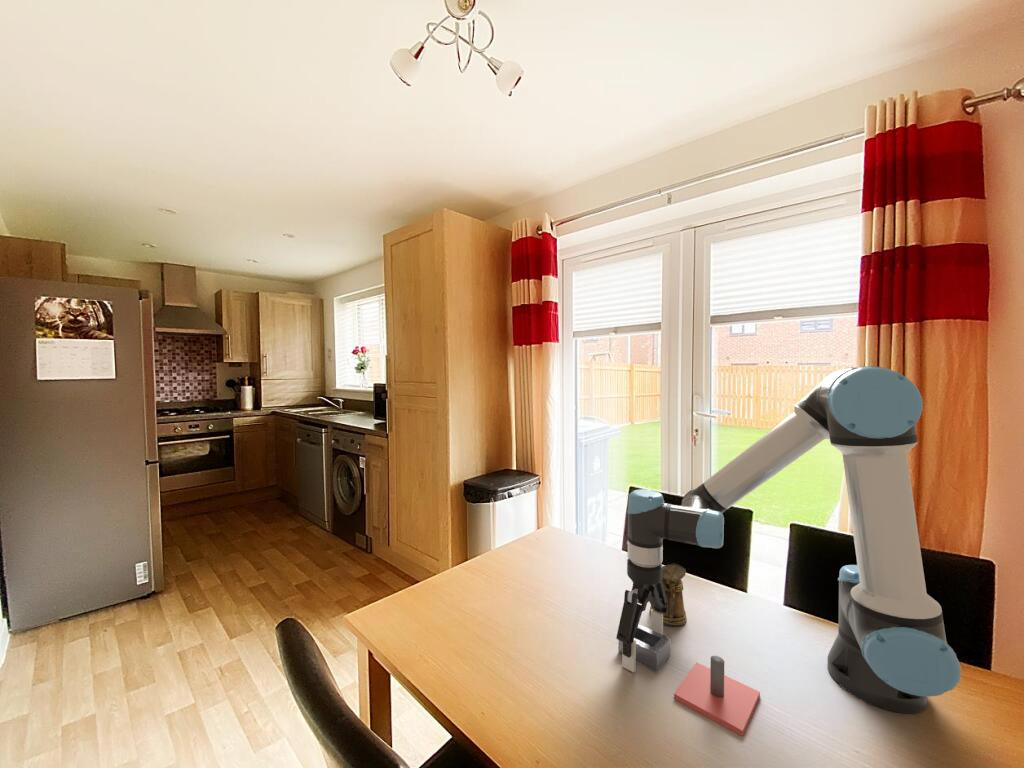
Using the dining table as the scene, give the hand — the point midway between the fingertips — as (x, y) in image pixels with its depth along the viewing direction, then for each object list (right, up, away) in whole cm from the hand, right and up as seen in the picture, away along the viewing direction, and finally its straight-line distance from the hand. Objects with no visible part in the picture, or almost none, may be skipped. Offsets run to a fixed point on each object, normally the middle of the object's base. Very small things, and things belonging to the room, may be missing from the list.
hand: (643, 653), depth 92 cm
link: (0, 0, 0) cm, 0 cm away
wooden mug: (+11, 0, +12) cm, 16 cm away
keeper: (+10, 0, -13) cm, 16 cm away
